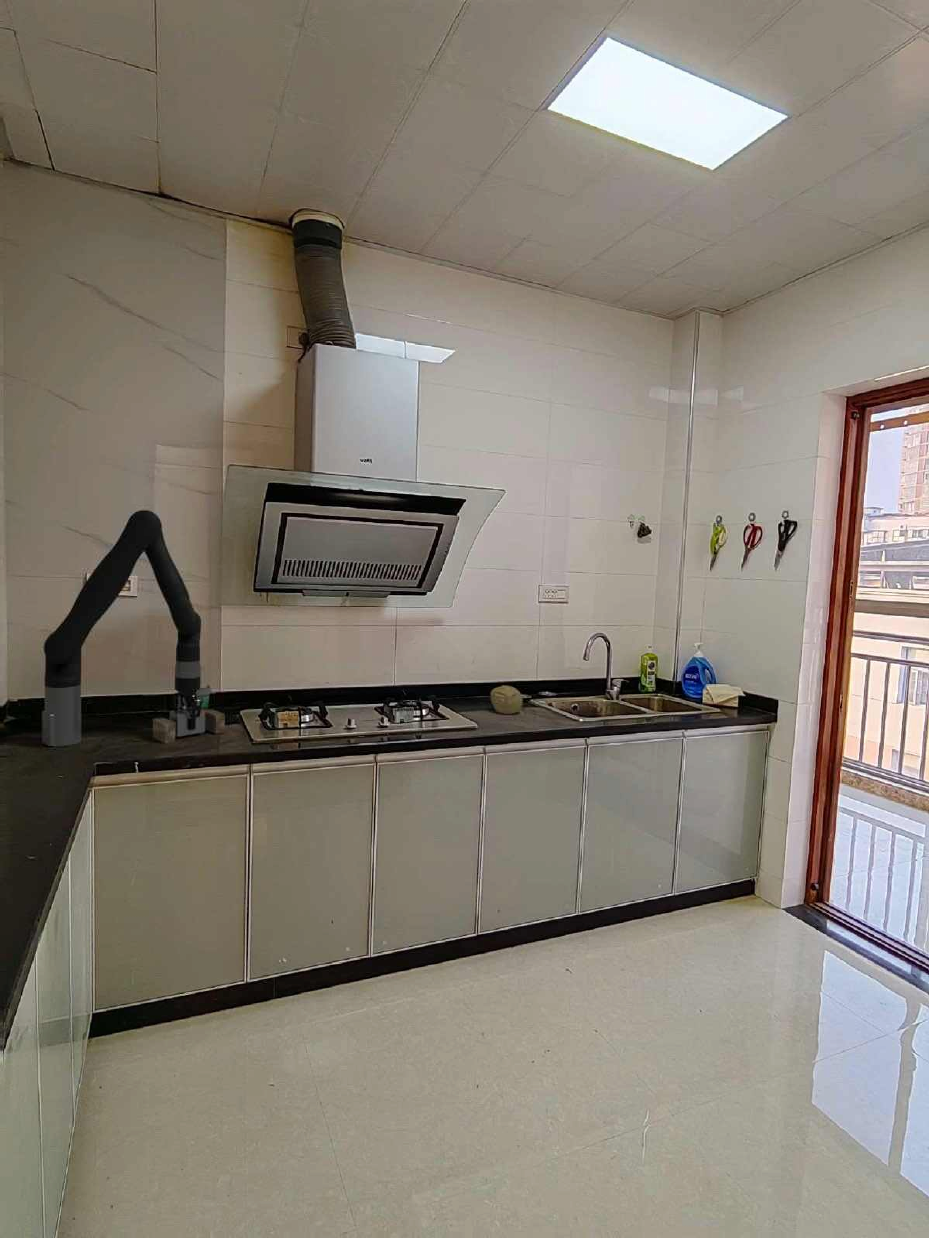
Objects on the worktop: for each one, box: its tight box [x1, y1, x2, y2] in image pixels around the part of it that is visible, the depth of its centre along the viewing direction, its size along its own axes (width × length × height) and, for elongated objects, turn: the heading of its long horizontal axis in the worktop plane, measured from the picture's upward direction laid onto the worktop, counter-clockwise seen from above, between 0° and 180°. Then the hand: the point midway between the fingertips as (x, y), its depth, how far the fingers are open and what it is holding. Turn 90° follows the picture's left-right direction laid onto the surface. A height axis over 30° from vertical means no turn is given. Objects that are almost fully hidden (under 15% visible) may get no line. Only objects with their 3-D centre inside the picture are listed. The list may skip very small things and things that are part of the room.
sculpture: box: [490, 684, 524, 715], centre depth 274 cm, size 11×12×11 cm
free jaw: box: [205, 709, 226, 735], centre depth 225 cm, size 3×8×6 cm, turn 49°
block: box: [169, 709, 206, 738], centre depth 219 cm, size 9×5×7 cm, turn 139°
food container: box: [176, 684, 212, 710], centre depth 244 cm, size 12×6×10 cm, turn 143°
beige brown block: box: [152, 717, 177, 744], centre depth 213 cm, size 3×8×6 cm, turn 49°
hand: (187, 727), depth 219 cm, fingers closed on block, 5 cm apart
